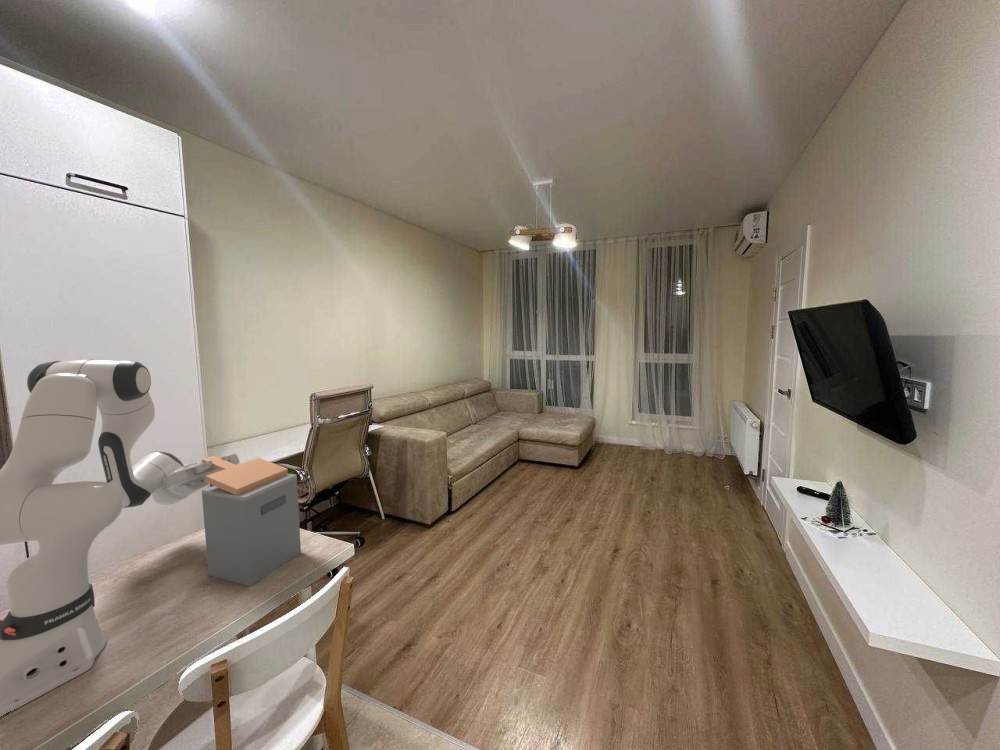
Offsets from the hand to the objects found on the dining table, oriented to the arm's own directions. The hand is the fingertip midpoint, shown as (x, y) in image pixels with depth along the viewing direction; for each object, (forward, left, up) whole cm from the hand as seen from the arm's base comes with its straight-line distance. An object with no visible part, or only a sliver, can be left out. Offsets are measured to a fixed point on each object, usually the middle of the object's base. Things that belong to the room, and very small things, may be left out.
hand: (218, 460), depth 120 cm
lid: (0, -7, -3) cm, 7 cm away
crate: (0, -13, -31) cm, 34 cm away
